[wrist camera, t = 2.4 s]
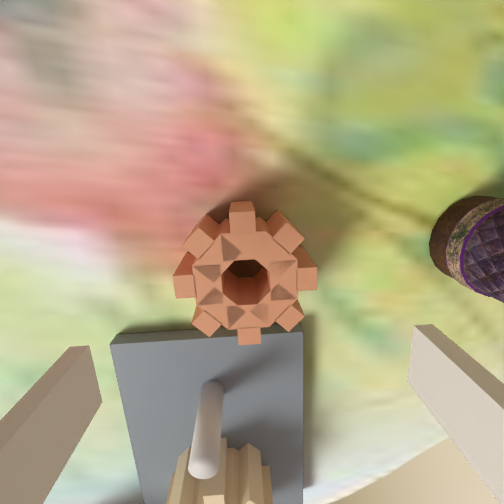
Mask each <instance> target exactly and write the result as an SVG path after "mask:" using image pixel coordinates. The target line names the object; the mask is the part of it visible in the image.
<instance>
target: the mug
mask: <svg viewBox="0 0 504 504" xmlns="http://www.w3.org/2000/svg"><path fill="white" fill-rule="evenodd" d="M429 247H430V256H431V258H432V260H433V262H434V264H435V266H436V267H437V268H438V269H439V270H440V271H442V272H443V273H444V274H446V275H448V276H450V277H452V278H454V279H456V280H457V281H458V282H459V283H460V284H461V285H463V286H465V287H467V288H469V289H471V290H473V291H475V292H477V293H480V294H483V295H485V296H488V297H493V298H495V299H497V300H499V301H501V302H503V303H504V198H494V197H486V196H474V197H471V198H467V199H463V200H461V201H459V202H458V203H456V204H454V205H453V206H451V207H449V208H448V209H447V211H446V212H445V213H444V214H443V215H442V216H441V217H440V218H439V219H438V221H437V223H436V225H435V226H434V228H433V230H432V233H431V238H430V242H429Z"/></svg>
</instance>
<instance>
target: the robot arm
mask: <svg viewBox="0 0 504 504" xmlns="http://www.w3.org/2000/svg"><path fill="white" fill-rule="evenodd" d="M407 382H408V384H409V385H410V386H411V387H412V389H413V390H414V391H415V393H416V394H417V395H418V397H419V398H420V399H421V401H422V402H423V403H424V405H425V406H426V407H427V408H428V410H429V411H430V412H431V414H432V415H433V416H434V418H435V419H436V420H437V422H438V423H439V424H440V426H441V427H442V428H443V429H444V431H445V432H446V433H447V435H448V436H449V437H450V439H451V440H452V441H453V443H454V444H455V445H456V447H457V448H458V449H459V450H460V452H461V453H462V454H463V456H464V457H465V458H466V460H467V461H468V462H469V464H470V465H471V466H472V467H473V469H474V470H475V472H476V473H477V474H478V475H479V477H480V478H481V479H482V481H483V482H484V483H485V484H486V486H487V487H488V489H489V490H490V491H491V493H492V494H493V495H494V496H495V498H496V499H497V500H498V502H499V503H500V504H504V384H503V383H502V382H501V381H500V380H498V379H497V378H496V377H495V376H494V375H492V374H491V373H490V372H489V371H488V370H486V369H485V368H484V367H483V366H482V365H480V364H479V363H478V362H477V361H476V360H474V359H473V358H472V357H471V356H470V355H468V354H467V353H466V352H465V351H464V350H463V349H461V348H460V347H459V346H458V345H457V344H455V343H454V342H453V341H452V340H451V339H449V338H448V337H447V336H446V335H445V334H443V333H442V332H441V331H440V330H439V329H437V328H436V327H435V326H434V325H433V324H429V325H414V329H413V338H412V346H411V355H410V363H409V372H408V380H407ZM101 403H102V398H101V394H100V390H99V385H98V381H97V377H96V373H95V368H94V364H93V360H92V356H91V351H90V347H89V346H75V347H69V348H68V349H67V350H66V351H65V352H64V354H63V355H62V356H61V357H60V358H59V359H58V360H57V361H56V362H55V363H54V364H53V365H52V366H51V367H50V368H49V369H48V371H47V372H46V373H45V374H44V375H43V376H42V377H41V378H40V379H39V380H38V381H37V382H36V383H35V384H34V385H33V386H32V388H31V389H30V390H29V391H28V392H27V393H26V394H25V395H24V396H23V397H22V398H21V399H20V400H19V401H18V402H17V403H16V405H15V406H14V407H13V408H12V409H11V410H10V411H9V412H8V413H7V414H6V415H5V416H4V417H3V418H2V419H1V420H0V504H43V502H44V501H45V499H46V497H47V496H48V494H49V492H50V490H51V489H52V487H53V485H54V484H55V482H56V480H57V479H58V477H59V475H60V473H61V472H62V470H63V468H64V467H65V465H66V463H67V461H68V460H69V458H70V456H71V455H72V453H73V451H74V449H75V448H76V446H77V444H78V443H79V441H80V439H81V438H82V436H83V434H84V432H85V431H86V429H87V427H88V426H89V424H90V422H91V420H92V419H93V417H94V415H95V414H96V412H97V410H98V409H99V407H100V405H101Z"/></svg>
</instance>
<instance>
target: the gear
mask: <svg viewBox="0 0 504 504" xmlns="http://www.w3.org/2000/svg"><path fill="white" fill-rule="evenodd" d="M304 239H305V238H304V237H303V236H302V235H301V234H300V232H299V231H298V230H297V229H296V228H295V226H294V225H293V224H292V223H291V222H290V221H289V220H288V219H287V218H286V217H285V216H283V215H282V214H281V213H280V212H279V211H278V210H277V211H276V212H275V213H274V214H273V215H272V216H271V217H270V218H269V219H268V220H267V221H266V222H265V221H264V220H263V219H262V218H261V217H255V210H254V206H253V203H252V201H237V202H231V204H230V209H229V219H224V220H223V221H222V222H221V223H220V224H218V223H217V222H216V221H215V220H213V219H212V218H211V217H210V216H209V215H207V214H206V215H205V216H204V217H203V218H202V220H201V221H200V222H199V223H198V224H197V225H196V226H195V228H194V229H193V230H192V232H191V233H190V235H189V236H188V238H187V239H186V241H185V242H184V244H183V245H182V247H184V248H185V249H186V250H187V251H189V252H190V253H186V254H185V256H184V257H183V259H182V261H181V263H180V264H179V266H178V268H177V270H176V271H175V273H174V275H173V281H174V288H175V296H176V298H191V297H196V305H197V306H196V310H195V313H194V317H193V320H192V325H194V326H195V327H196V328H198V329H199V330H200V331H202V332H203V333H205V334H206V335H207V336H209V337H210V336H211V335H212V334H213V333H214V332H215V331H216V330H217V329H218V328H219V327H220V326H221V325H223V326H224V327H226V328H227V329H228V330H232V329H237V332H238V345H252V344H261V330H260V328H263V327H270V326H271V325H272V324H273V323H274V322H275V321H276V322H277V323H278V324H279V325H281V326H282V327H283V328H284V329H286V330H287V331H288V332H289V331H290V330H291V329H292V328H293V327H294V326H295V325H296V324H297V323H299V322H300V321H301V320H302V319H303V318H304V317H305V316H304V313H303V311H302V309H301V306H300V304H299V302H298V291H303V290H317V266H316V265H315V263H314V262H313V261H312V259H311V258H310V257H309V255H308V254H307V252H306V251H305V250H304V248H303V247H302V246H299V245H300V244H301V243H302V242H303V241H304ZM251 259H255V260H257V261H258V262H259V263H260V264H261V265H262V266H264V267H263V268H262V269H261V270H260V271H259V272H258V273H257V274H256V275H255V276H254V277H241V278H238V277H236V276H235V275H234V274H233V273H232V272H230V271H229V270H228V269H227V268H228V267H229V266H230V265H231V264H232V263H233V262H234V260H251Z"/></svg>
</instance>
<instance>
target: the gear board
mask: <svg viewBox="0 0 504 504" xmlns="http://www.w3.org/2000/svg"><path fill="white" fill-rule="evenodd" d="M260 330H261V344H252V345H238V332H237V329H232V330H228V329H227V328H226V327H225V328H218V329H217V330H216V331H215V332H214V333H213V334H212V335H211V336H210V337H209V336H207V335H206V334H205V333H203V332H202V331H200V330H199V329H194V330H179V331H163V332H148V333H132V334H117V335H116V336H115V338H114V339H113V340H112V342H111V343H110V349H111V354H112V358H113V363H114V367H115V372H116V377H117V381H118V386H119V390H120V395H121V399H122V404H123V409H124V413H125V418H126V422H127V427H128V431H129V436H130V441H131V445H132V450H133V454H134V459H135V463H136V468H137V472H138V477H139V482H140V486H141V491H142V495H143V500H144V504H303V330H302V327H301V325H300V323H297V324H296V325H295V326H294V327H293V328H292V329H291V330H290V331H289V332H288V331H287V330H286V329H284V328H283V327H282V326H281V325H279V324H272V325H271V326H270V327H263V328H260Z"/></svg>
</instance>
